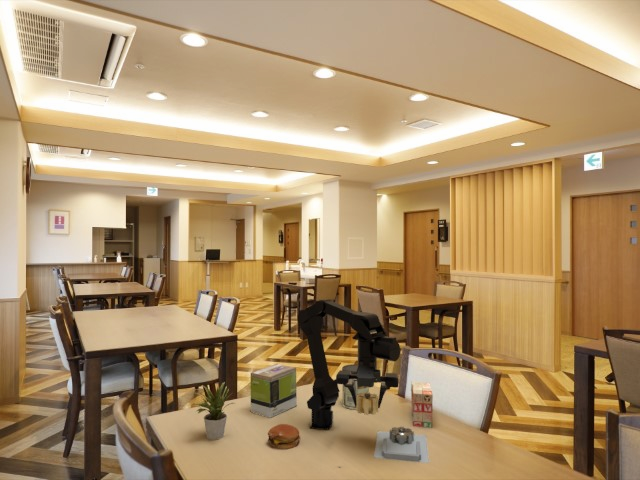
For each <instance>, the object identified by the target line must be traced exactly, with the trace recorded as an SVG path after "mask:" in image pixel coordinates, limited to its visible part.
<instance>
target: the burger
mask: <svg viewBox="0 0 640 480" xmlns="http://www.w3.org/2000/svg"><path fill="white" fill-rule="evenodd" d="M267 436H268V439H267V440H268V442H269V444H270V446H272V447H274V448H278V449H279V450H289V449H292V448H295V447H296V446H297V445H298V443H299V442H300V440H301V435H300V430H299V429H298V427H296V426H294V425H291V424H287V423H280V424H277V425H275V426H272V427H271V428H270V429H269V430H268V432H267Z"/></svg>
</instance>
